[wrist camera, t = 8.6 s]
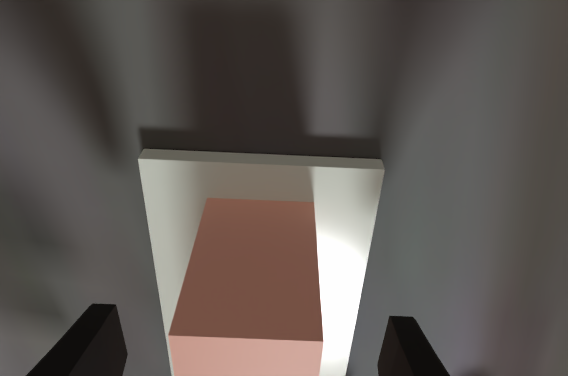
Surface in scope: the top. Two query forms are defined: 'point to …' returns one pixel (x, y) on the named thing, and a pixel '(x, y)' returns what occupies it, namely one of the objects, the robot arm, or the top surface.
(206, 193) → the white rectangular board
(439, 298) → the top surface
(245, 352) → the salmon pink rectangular prism
